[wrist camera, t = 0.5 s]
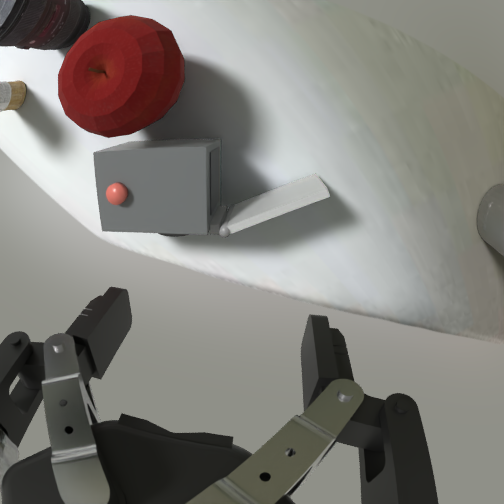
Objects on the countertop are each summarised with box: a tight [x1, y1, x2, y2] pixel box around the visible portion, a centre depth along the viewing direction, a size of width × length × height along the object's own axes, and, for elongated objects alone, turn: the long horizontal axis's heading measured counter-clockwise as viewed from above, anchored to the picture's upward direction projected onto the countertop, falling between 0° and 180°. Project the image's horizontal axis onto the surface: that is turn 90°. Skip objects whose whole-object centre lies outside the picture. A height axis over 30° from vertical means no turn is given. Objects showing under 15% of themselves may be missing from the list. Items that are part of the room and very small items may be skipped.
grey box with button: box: [94, 139, 227, 237], centre depth 30 cm, size 12×9×9 cm
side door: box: [219, 173, 330, 237], centre depth 31 cm, size 1×11×7 cm, turn 114°
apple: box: [58, 15, 185, 138], centre depth 23 cm, size 12×12×13 cm
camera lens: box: [0, 0, 90, 50], centre depth 18 cm, size 8×8×15 cm
